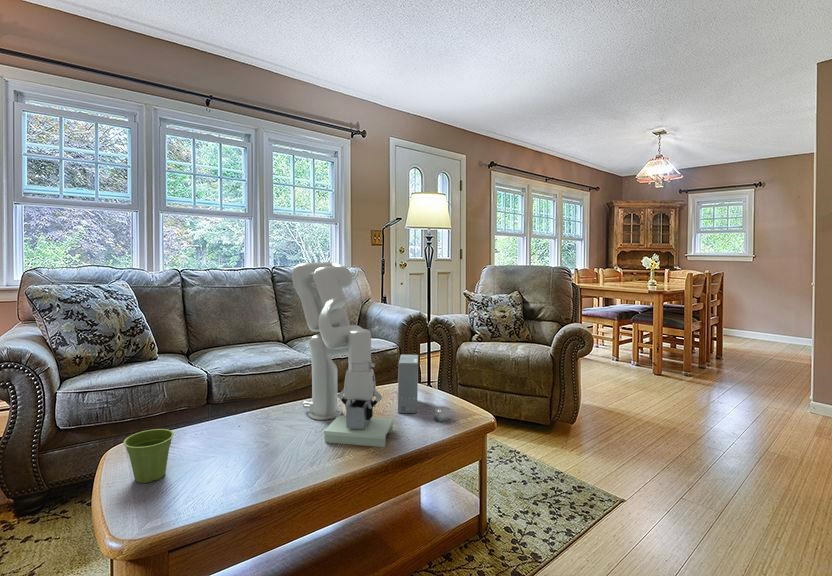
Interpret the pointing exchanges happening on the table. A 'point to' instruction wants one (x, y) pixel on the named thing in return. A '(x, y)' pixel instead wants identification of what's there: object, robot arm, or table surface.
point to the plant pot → (149, 453)
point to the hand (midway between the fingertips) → (359, 417)
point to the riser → (359, 432)
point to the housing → (357, 414)
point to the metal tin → (442, 414)
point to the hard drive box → (408, 384)
